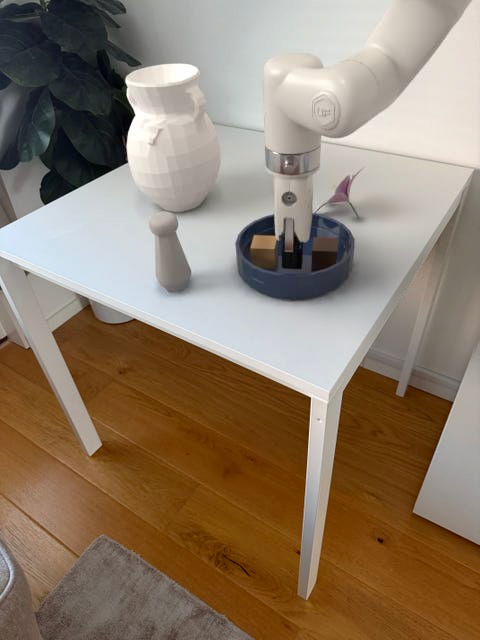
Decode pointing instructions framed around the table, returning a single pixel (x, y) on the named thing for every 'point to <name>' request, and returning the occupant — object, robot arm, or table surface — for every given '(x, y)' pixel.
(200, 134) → the white vase
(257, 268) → the bowl
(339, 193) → the lily
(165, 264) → the salt shaker
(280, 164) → the robot arm
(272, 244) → the maple block
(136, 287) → the table surface
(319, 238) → the walnut block
